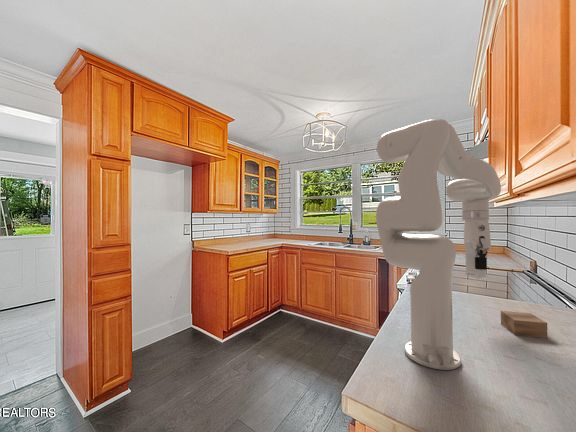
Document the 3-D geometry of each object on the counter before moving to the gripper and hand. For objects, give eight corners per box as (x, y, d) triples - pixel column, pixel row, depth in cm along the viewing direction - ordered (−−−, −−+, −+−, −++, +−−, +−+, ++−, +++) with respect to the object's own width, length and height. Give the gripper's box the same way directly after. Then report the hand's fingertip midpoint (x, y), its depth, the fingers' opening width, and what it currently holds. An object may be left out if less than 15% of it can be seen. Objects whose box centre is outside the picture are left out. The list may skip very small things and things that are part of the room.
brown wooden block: (547, 338, 74) (547, 322, 74) (514, 334, 77) (514, 320, 77) (530, 326, 82) (530, 313, 82) (501, 324, 84) (500, 310, 84)
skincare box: (480, 278, 84) (479, 242, 85) (464, 276, 88) (464, 241, 88) (487, 276, 88) (486, 241, 88) (472, 274, 91) (472, 240, 92)
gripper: (500, 215, 79) (501, 272, 78) (477, 216, 95) (478, 263, 95) (472, 216, 81) (473, 271, 81) (454, 216, 98) (455, 262, 97)
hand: (475, 266), depth 88 cm, fingers closed on skincare box, 7 cm apart
